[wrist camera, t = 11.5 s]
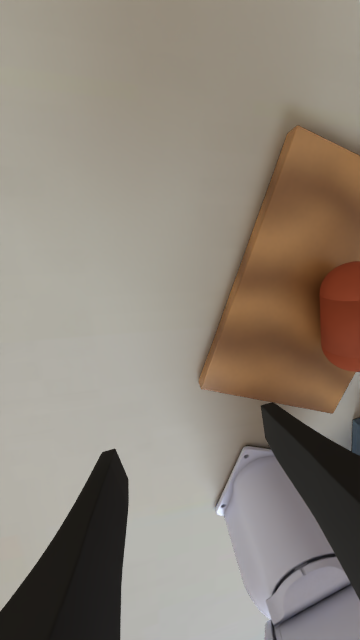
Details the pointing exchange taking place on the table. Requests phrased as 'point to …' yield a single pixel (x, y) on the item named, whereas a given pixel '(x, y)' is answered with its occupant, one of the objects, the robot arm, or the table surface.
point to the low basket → (356, 436)
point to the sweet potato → (341, 316)
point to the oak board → (290, 281)
